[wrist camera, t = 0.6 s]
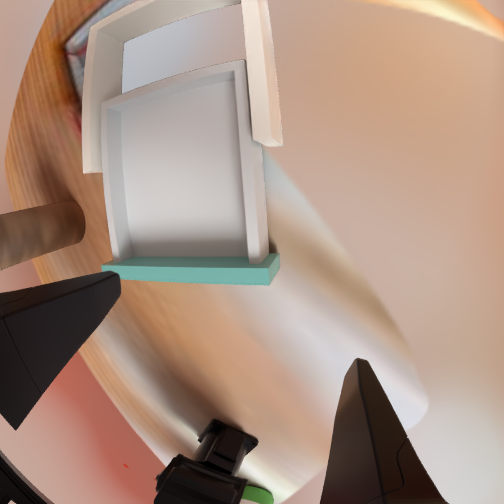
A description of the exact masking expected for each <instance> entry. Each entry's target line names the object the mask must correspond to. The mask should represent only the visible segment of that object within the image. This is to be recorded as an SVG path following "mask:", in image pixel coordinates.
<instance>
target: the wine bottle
mask: <svg viewBox="0 0 504 504" xmlns="http://www.w3.org/2000/svg"><path fill="white" fill-rule="evenodd" d="M273 502H274V499H273V497H272V495H271V494H270V493H269V492H267V491H265V490H263V489H261V488H258V487H254V486H247V485H246V487H245V490H244V493H243V496H242V498H241V501H240V504H273Z"/></svg>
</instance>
